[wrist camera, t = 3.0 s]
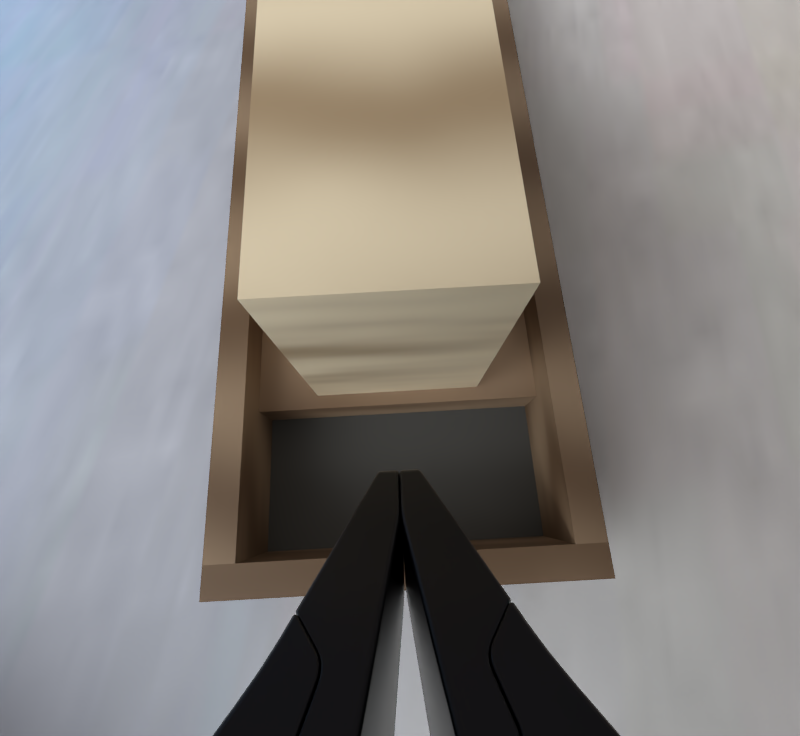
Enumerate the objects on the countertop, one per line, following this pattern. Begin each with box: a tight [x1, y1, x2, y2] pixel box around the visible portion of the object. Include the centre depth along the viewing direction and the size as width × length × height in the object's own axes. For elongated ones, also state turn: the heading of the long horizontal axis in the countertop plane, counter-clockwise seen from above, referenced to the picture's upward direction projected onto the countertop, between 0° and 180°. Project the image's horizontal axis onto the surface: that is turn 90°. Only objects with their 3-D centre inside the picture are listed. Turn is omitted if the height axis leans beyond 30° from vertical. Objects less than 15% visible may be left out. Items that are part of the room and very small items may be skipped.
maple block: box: [237, 0, 540, 396], centre depth 14 cm, size 9×6×8 cm, turn 3°
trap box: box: [199, 0, 615, 602], centre depth 19 cm, size 31×12×4 cm, turn 3°
